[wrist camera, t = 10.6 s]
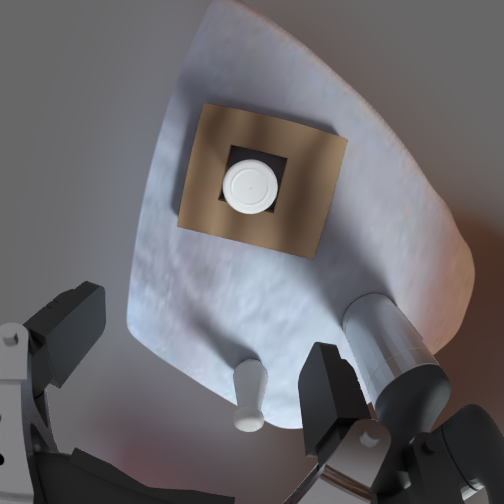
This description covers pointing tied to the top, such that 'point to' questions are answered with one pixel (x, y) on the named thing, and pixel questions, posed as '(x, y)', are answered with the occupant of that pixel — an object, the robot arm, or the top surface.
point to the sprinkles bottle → (250, 186)
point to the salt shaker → (249, 394)
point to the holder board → (290, 189)
